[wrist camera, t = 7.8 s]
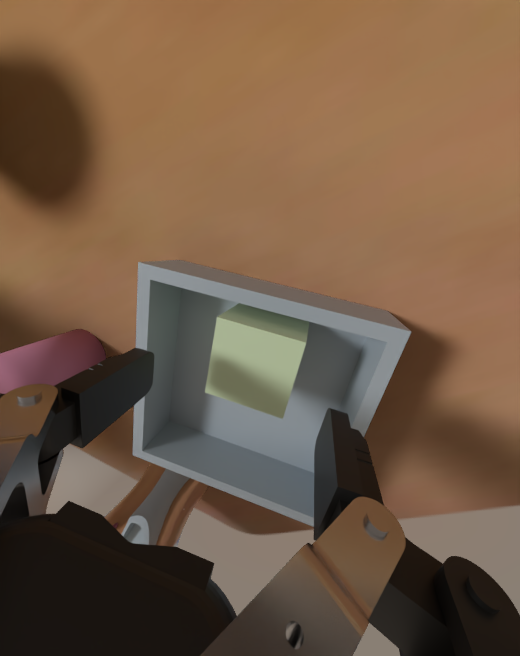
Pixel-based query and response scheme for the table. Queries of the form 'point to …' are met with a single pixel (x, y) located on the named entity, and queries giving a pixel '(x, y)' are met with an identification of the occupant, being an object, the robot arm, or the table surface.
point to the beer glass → (156, 507)
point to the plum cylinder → (49, 360)
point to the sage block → (256, 358)
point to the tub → (240, 421)
